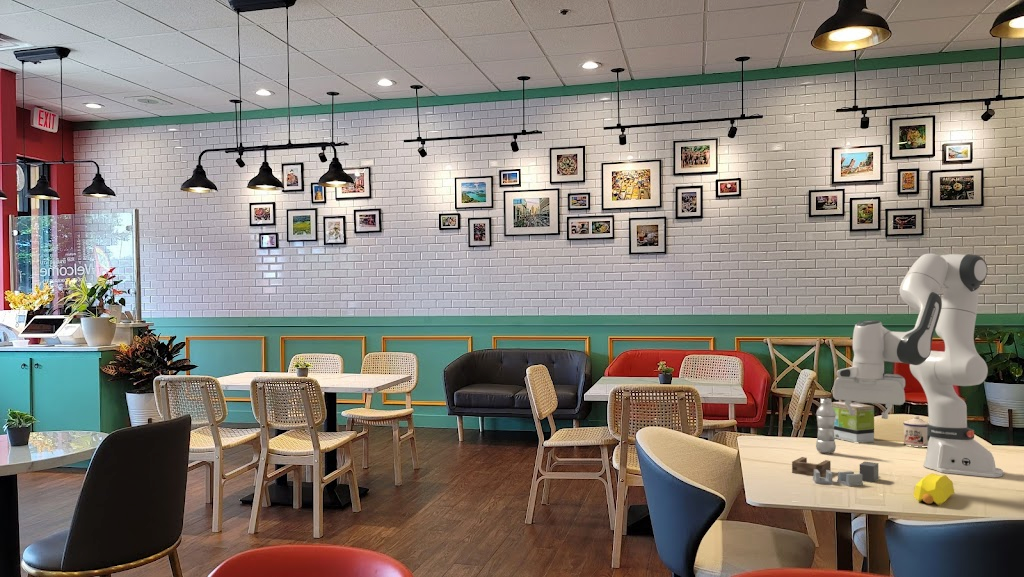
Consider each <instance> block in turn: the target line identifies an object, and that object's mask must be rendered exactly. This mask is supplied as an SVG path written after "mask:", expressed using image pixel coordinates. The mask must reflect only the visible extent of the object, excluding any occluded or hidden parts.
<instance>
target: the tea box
mask: <svg viewBox="0 0 1024 577" xmlns="http://www.w3.org/2000/svg"><path fill="white" fill-rule="evenodd" d="M831 403H832V404H831V406H832V408H833V409H834V410H835V413H836V416H835V423H834V439H837V440H842V439H843V440H842V441H846V442H849V443H850V442H851V443H854V442H865V443H874V442H875V406H874V405H868V404H863V403H858V402H857V403H856V402H851V404H850V406H851V407H852V409H853V410H855V416H851V415H849V410H848V408H847V407H846V405H845V400H843V401H833V402H832V401H831Z"/></svg>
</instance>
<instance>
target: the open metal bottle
mask: <svg viewBox="0 0 1024 577" xmlns="http://www.w3.org/2000/svg"><path fill="white" fill-rule="evenodd" d="M831 402H832V398H827V397H821V398H820V401H819V403H820V406H819V407H817V410H816V421H817V438H816V443H815V448H816V449H815V450H817V452H818V453H821V454H822V453H823V454H826V455H827V454H833V453H834V452H836V447H837V446H836V441H835V438H834V423H835V416H836V413H835V410H834V409H833V408H832V406H831V404H832V403H831Z"/></svg>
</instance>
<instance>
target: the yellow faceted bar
mask: <svg viewBox="0 0 1024 577" xmlns="http://www.w3.org/2000/svg"><path fill="white" fill-rule="evenodd" d="M954 494H955V488H954V483H953V480H951V479H950V478H949V477H948V476H947V475H945V474H942V475H941V474H936V473H929V474H927V475H925V476H923V478H921V479H920V480H919V481H918V482H917V483H916V484H915V486H914V492H913V497H914V498H915V500H916V501H918V503H921V502H924V503H925V504H928V505H931V504H933V503H934V504H936V505H937V506H942V504H943V503H945V502H946V501H947V500H948V499H949V498H950V497H952V496H953V495H954Z"/></svg>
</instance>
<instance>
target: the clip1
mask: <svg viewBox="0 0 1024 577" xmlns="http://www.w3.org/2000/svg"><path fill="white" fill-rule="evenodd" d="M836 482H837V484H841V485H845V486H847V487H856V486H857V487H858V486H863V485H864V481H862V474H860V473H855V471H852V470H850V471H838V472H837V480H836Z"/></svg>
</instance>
